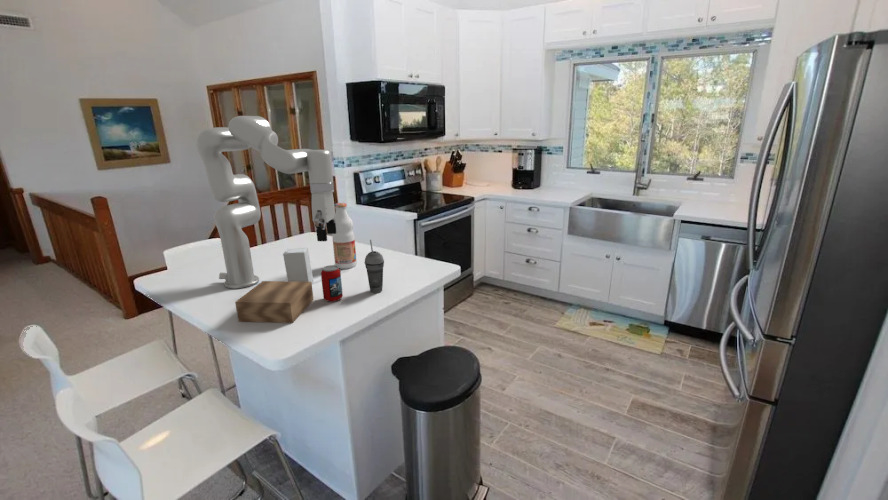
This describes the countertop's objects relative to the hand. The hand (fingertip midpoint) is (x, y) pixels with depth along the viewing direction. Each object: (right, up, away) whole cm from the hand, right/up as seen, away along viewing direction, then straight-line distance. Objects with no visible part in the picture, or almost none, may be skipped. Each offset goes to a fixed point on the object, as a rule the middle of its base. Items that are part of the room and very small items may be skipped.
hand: (327, 237), depth 142 cm
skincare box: (-16, -19, +20) cm, 31 cm away
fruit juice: (-3, -12, +42) cm, 43 cm away
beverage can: (0, -22, +7) cm, 24 cm away
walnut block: (-16, -25, -2) cm, 30 cm away
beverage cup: (+15, -20, +14) cm, 28 cm away
